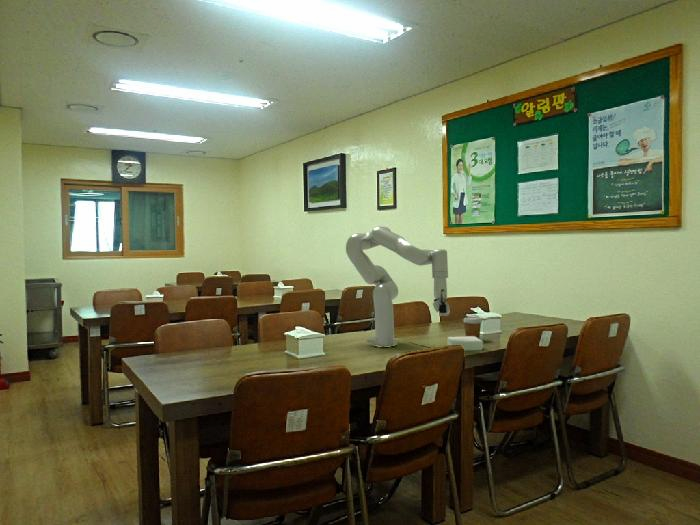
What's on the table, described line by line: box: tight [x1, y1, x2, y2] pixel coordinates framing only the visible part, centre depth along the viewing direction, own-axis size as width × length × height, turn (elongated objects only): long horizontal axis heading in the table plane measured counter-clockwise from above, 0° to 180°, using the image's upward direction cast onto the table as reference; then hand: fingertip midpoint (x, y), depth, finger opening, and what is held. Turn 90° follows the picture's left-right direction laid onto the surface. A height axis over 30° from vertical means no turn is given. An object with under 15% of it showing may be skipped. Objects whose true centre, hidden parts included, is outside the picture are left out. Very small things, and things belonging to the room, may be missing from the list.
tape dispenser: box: [432, 297, 451, 317], centre depth 257 cm, size 6×7×10 cm
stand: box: [446, 335, 484, 351], centre depth 260 cm, size 14×14×4 cm
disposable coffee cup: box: [462, 316, 482, 339], centre depth 275 cm, size 10×10×12 cm
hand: (441, 311), depth 257 cm, fingers closed on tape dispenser, 6 cm apart
